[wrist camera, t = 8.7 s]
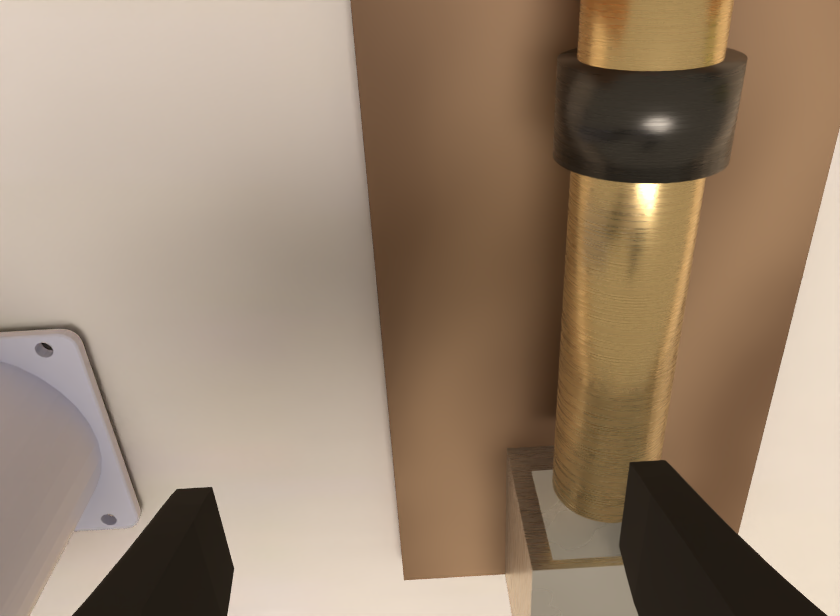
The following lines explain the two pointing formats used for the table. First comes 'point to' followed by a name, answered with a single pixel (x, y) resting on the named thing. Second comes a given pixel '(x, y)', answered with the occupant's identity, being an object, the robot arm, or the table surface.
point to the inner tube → (632, 224)
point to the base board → (564, 252)
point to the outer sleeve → (558, 548)
